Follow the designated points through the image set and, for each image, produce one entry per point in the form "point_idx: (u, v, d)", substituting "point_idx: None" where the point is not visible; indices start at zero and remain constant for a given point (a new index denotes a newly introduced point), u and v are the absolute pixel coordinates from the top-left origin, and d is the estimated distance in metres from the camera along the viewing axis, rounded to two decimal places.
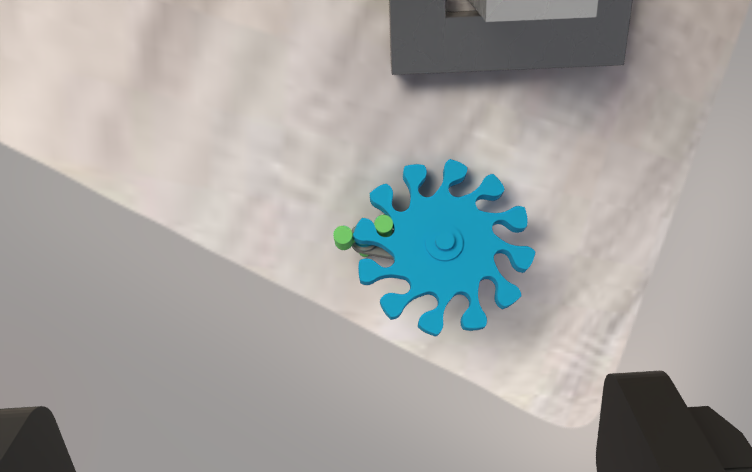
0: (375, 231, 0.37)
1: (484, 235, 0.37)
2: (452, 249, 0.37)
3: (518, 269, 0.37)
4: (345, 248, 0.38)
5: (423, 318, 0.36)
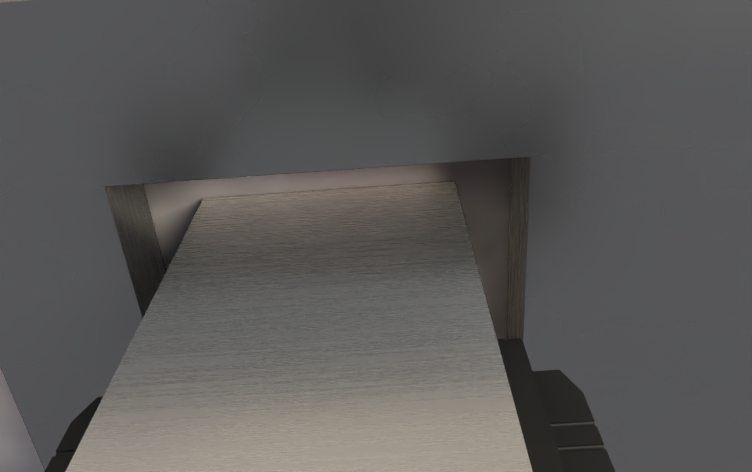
0: None
1: None
2: None
3: None
4: None
5: None
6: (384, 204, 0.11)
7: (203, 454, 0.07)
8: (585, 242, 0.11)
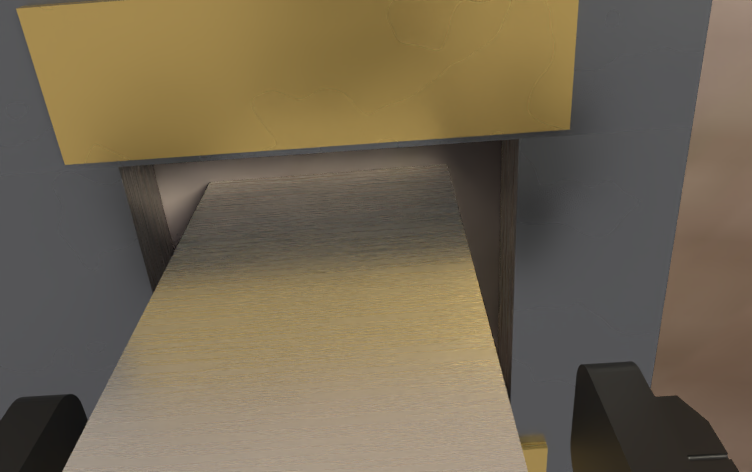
0: None
1: None
2: None
3: None
4: None
5: None
6: (381, 184, 0.12)
7: (215, 400, 0.07)
8: None
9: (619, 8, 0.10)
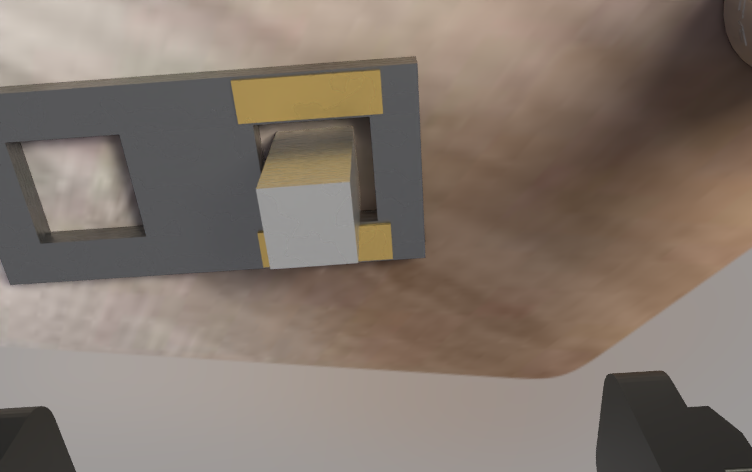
0: None
1: None
2: None
3: None
4: None
5: None
6: (331, 131, 0.39)
7: (287, 171, 0.34)
8: (142, 159, 0.38)
9: (393, 80, 0.36)
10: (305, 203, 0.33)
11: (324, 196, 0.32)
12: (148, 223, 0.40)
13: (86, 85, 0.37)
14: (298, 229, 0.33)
